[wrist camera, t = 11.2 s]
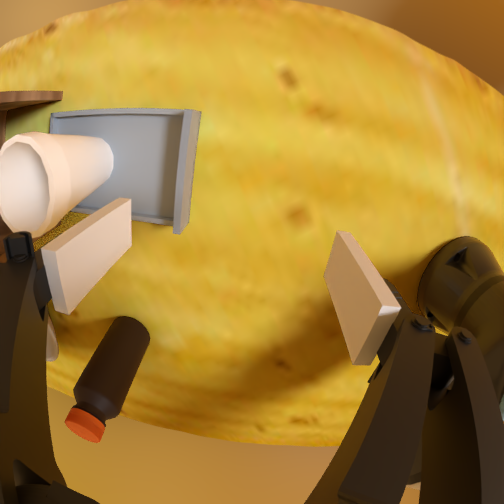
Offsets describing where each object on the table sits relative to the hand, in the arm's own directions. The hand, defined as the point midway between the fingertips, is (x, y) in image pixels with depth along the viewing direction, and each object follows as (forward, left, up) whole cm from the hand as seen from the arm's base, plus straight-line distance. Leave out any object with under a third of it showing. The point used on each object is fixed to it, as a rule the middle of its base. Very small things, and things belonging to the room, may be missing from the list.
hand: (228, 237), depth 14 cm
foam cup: (+19, 0, -17) cm, 26 cm away
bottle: (+15, +26, -18) cm, 35 cm away
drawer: (+16, 0, -18) cm, 24 cm away
